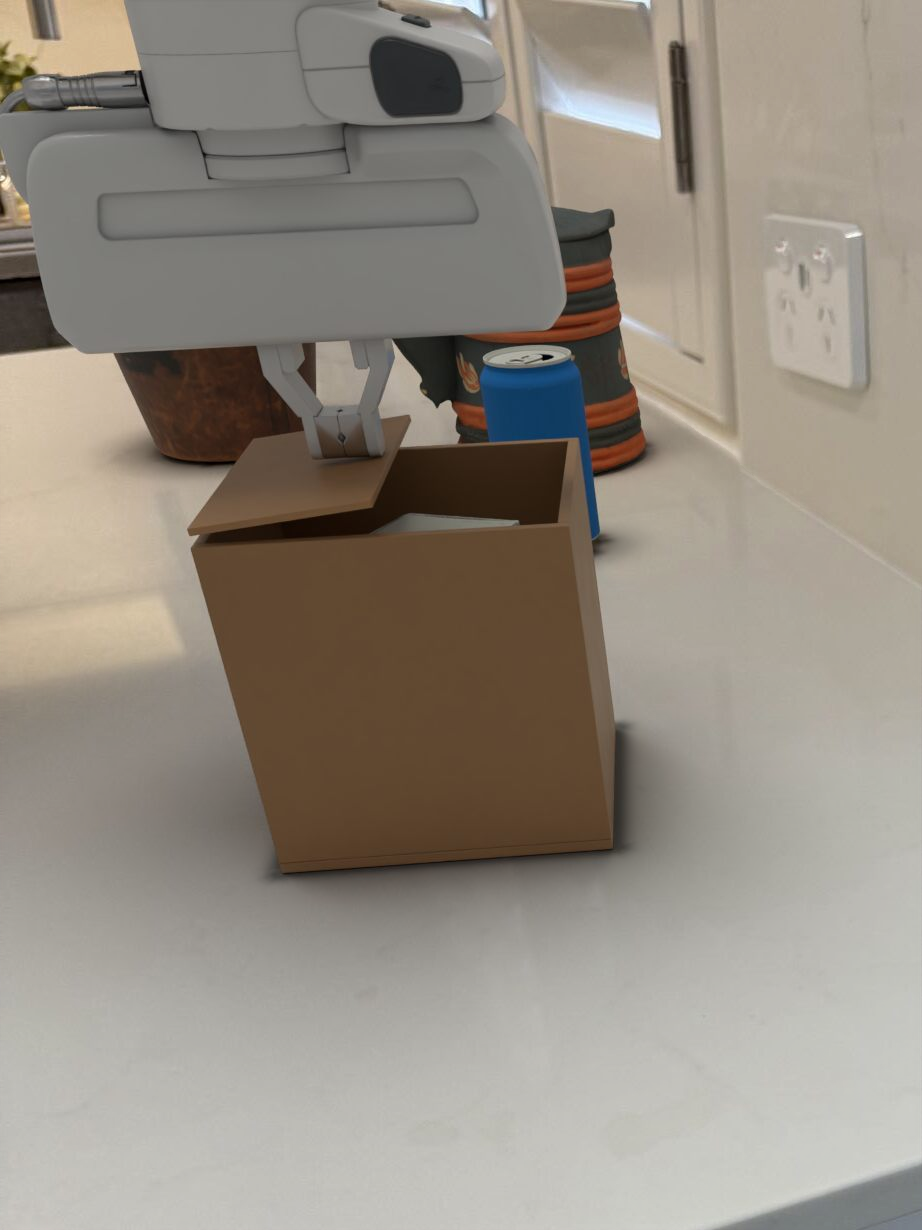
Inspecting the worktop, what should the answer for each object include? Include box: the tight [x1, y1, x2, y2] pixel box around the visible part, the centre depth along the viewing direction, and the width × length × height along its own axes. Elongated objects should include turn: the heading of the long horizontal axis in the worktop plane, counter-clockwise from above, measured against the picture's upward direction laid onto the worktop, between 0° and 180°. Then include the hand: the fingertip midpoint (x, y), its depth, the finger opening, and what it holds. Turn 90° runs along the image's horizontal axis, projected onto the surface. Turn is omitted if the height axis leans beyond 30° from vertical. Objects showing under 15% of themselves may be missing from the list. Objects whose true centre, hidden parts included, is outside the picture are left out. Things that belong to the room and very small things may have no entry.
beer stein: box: [392, 205, 647, 474], centre depth 120 cm, size 19×15×20 cm
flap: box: [186, 414, 412, 537], centre depth 68 cm, size 7×14×1 cm, turn 7°
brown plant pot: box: [112, 342, 317, 463], centre depth 127 cm, size 18×20×18 cm
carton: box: [190, 438, 617, 874], centre depth 73 cm, size 15×14×14 cm
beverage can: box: [480, 345, 601, 541], centre depth 105 cm, size 6×6×12 cm
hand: (349, 455), depth 68 cm, fingers closed
